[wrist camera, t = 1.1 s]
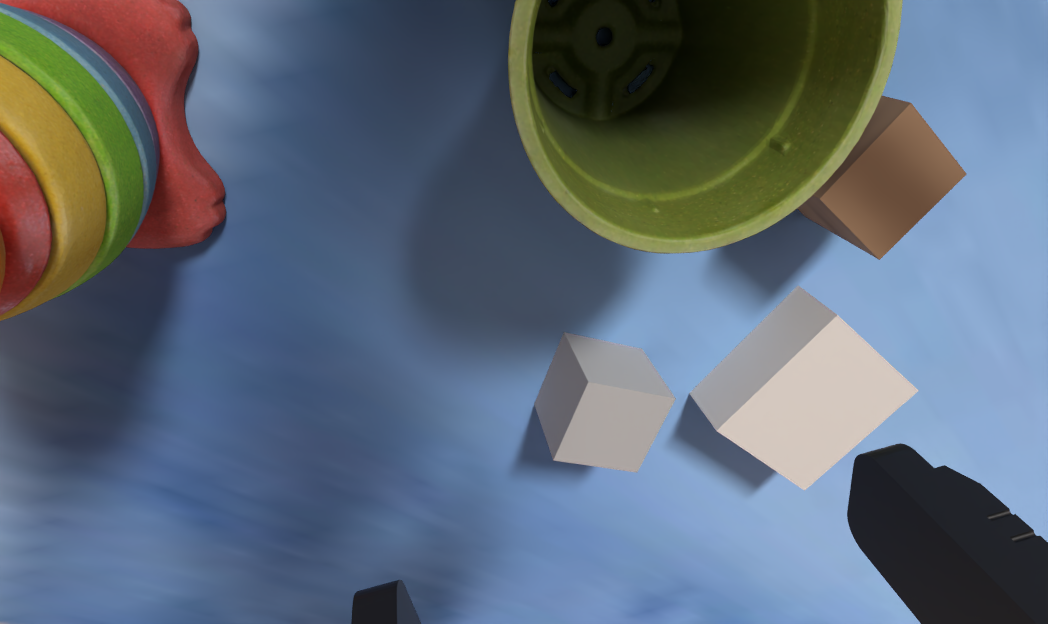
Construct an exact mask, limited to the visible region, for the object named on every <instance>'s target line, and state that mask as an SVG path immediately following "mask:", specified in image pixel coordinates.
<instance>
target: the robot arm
mask: <svg viewBox="0 0 1048 624" xmlns="http://www.w3.org/2000/svg"><path fill="white" fill-rule="evenodd" d="M847 517H848V523H849V527H850V530H851V532H852V535H853V537H854V539H855V541H856V543H857V544H858V546H859V547H860V549H861V550H862V551H863V553H864V554H865V555H866V556H867V558H868V559H869V560H870V561H871V562H872V564H873V565H874V566H875V567H876V569H877V570H878V571H879V572H880V574H881V575H882V576H883V577H884V578H885V580H886V581H887V582H888V583H889V585H890V586H891V587H892V588H893V590H894V591H895V592H896V593H897V595H898V596H899V597H900V598H901V599H902V601H903V602H904V603H905V604H906V606H907V607H908V608H909V609H910V611H911V612H912V613H913V614H914V615H915V617H916V618H917V619H918V620H919V622H920V623H921V624H1048V542H1047V541H1045V540H1044V539H1043V538H1042V537H1041V536H1036V535H1035V534H1034V530H1033V529H1032V528H1031V527H1029V526H1028V525H1027V524H1026V523H1025V522H1024V521H1023V520H1021V519H1020V518H1019V517H1018V516H1017V515H1016V514H1014V515H1012V514H1011V513H1010V510H1009V508H1008V507H1006V506H1005V505H1004V504H1003V503H1002V502H1001V501H1000V500H998V499H997V498H996V497H995V496H994V495H993V494H992V493H990V492H989V491H988V490H987V489H986V488H985V487H984V486H982V485H981V484H980V483H978V482H976V481H974V480H972V479H970V478H968V477H966V476H964V475H962V474H960V473H958V472H956V471H954V470H953V469H951V468H949V467H947V466H945V465H944V466H941V467H937V468H933V467H932V466H931V465H930V464H929V463H928V462H927V461H926V460H925V459H924V458H923V457H921V456H920V455H919V454H918V453H917V452H916V451H915V450H914V449H912V448H911V447H909V446H907V445H905V444H895V445H892V446H888V447H885V448H881V449H877V450H874V451H870V452H867V453H863V454H860V455H858V456H857V457H856V458H855V461H854V466H853V474H852V481H851V489H850V496H849V504H848V512H847ZM352 624H421V622H420V620H419V618H418V615H417V613H416V611H415V608H414V606H413V604H412V601H411V599H410V597H409V594H408V592H407V590H406V587H405V585H404V583H403V581H402V580H397V581H393V582H390V583H386V584H382V585H379V586H375V587H371V588H368V589H364V590H361V591H357V592H356V593H355V595H354V599H353V607H352Z"/></svg>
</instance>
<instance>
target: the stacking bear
mask: <svg viewBox="0 0 1048 624" xmlns="http://www.w3.org/2000/svg"><path fill="white" fill-rule="evenodd" d="M197 55H198V42H197V39H196V36H195V35H194V33H193V32H192V30H191V16H190V13H189V11H188V10H187V8H186V7H185V6H184V5H183V4H182V3H180V2H179V1H177V0H0V321H2V320H5V319H8V318H11V317H13V316H16V315H18V314H21V313H23V312H26V311H28V310H31V309H33V308H35V307H37V306H39V305H41V304H43V303H45V302H47V301H49V300H51V299H54V298H56V297H59V296H61V295H63V294H65V293H67V292H69V291H70V290H72V289H74V288H76V287H78V286H79V285H81V284H83V283H84V282H86V281H87V280H89V279H90V278H92V277H94V276H95V275H96V274H98V273H99V272H100V271H102V270H103V269H104V268H106V267H107V266H108V265H109V264H111V263H112V262H113V261H114V260H115V259H116V258H117V257H118V256H119V255H120V254H121V252H122V251H123V250H124V249H125V247H128V248H150V249H157V248H174V247H184V246H189V245H193V244H197V243H199V242H202V241H204V240H205V239H207V238H208V237H209V236H210V234H211V233H212V230H213V227H215V226H217V225H219V224H220V223H221V222H222V221H223V220H224V218H225V215H226V209H225V205H224V203H223V198H224V196H225V188H224V186H223V183H222V181H221V179H220V178H219V176H218V175H217V173H216V172H215V171H214V170H213V169H212V167H211V166H210V165H209V164H208V163H207V161H206V160H205V159H204V158H203V156H202V155H201V154H200V152H199V151H198V149H197V147H196V146H195V144H194V142H193V140H192V138H191V135H190V133H189V130H188V127H187V124H186V118H185V111H184V94H185V88H186V84H187V81H188V79H189V76H190V74H191V72H192V69H193V67H194V65H195V63H196V60H197Z"/></svg>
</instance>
